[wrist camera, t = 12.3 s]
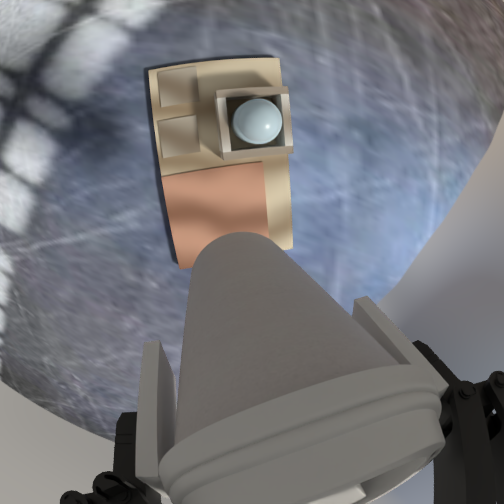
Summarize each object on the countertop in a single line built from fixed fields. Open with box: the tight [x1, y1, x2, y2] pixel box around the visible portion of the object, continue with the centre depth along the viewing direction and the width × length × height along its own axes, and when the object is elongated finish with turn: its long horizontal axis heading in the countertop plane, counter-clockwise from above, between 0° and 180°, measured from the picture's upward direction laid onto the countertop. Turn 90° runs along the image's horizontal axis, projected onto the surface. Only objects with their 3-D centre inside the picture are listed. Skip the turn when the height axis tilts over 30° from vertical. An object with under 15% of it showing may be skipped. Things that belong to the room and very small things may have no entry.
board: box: [149, 58, 293, 269], centre depth 28 cm, size 23×14×4 cm, turn 5°
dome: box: [231, 99, 282, 144], centre depth 24 cm, size 4×4×5 cm
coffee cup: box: [158, 232, 445, 504], centre depth 12 cm, size 10×10×15 cm
